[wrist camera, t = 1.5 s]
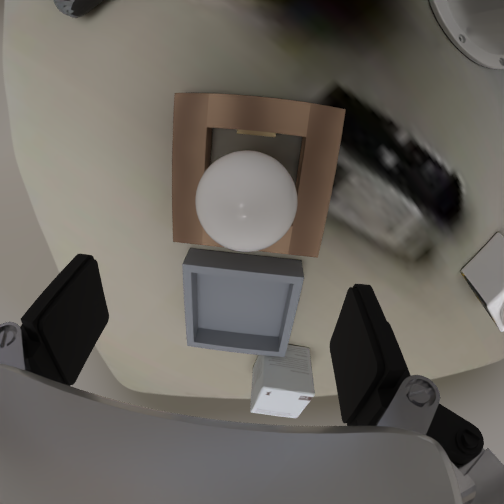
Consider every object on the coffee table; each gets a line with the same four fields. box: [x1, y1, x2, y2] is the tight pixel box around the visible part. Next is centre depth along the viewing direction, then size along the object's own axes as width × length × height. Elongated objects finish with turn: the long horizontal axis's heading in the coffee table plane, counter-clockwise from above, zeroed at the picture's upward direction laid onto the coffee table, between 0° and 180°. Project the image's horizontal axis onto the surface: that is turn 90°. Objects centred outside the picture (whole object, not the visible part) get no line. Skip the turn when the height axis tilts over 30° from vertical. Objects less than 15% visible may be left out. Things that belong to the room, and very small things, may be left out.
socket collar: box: [172, 93, 345, 257], centre depth 24 cm, size 13×13×2 cm
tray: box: [183, 248, 304, 357], centre depth 31 cm, size 11×11×3 cm
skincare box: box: [250, 345, 315, 418], centre depth 34 cm, size 6×6×7 cm
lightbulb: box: [195, 150, 298, 252], centre depth 21 cm, size 6×6×11 cm
